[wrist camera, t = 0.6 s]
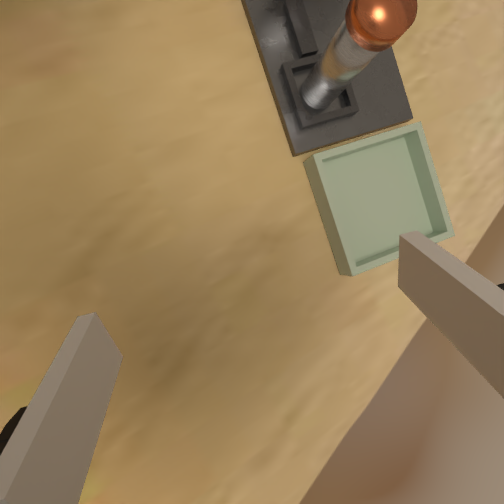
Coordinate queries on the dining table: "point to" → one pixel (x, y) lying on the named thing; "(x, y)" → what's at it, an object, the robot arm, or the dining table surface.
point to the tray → (377, 197)
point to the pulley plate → (302, 62)
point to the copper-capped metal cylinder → (356, 46)
